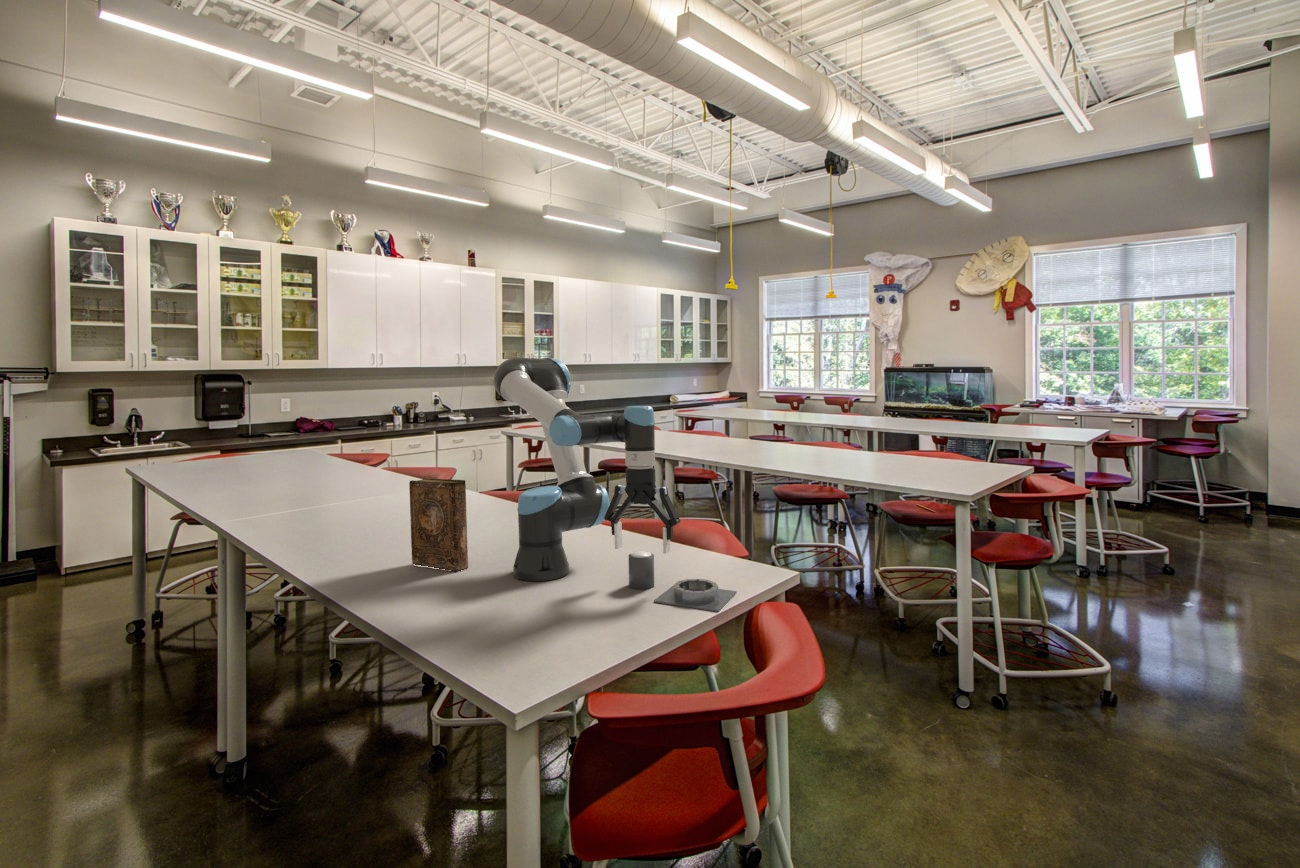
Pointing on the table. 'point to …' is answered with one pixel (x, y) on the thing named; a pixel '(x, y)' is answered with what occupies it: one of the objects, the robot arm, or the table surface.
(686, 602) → the barrel mount
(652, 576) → the lens barrel
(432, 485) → the book
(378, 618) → the table surface
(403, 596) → the table surface
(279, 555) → the table surface
